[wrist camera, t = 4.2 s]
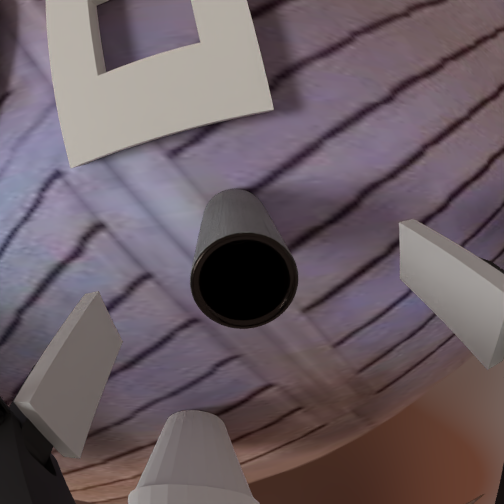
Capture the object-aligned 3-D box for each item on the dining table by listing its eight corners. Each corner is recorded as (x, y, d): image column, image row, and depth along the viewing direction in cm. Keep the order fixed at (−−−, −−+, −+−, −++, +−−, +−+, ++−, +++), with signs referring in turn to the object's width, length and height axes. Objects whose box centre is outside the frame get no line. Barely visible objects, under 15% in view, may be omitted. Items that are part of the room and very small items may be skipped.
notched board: (269, 111, 20) (273, 109, 18) (82, 165, 20) (70, 168, 18) (219, -75, 13) (219, -88, 11) (56, -22, 13) (46, -30, 11)
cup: (258, 446, 33) (273, 540, 20) (166, 456, 33) (160, 545, 20) (235, 384, 28) (247, 510, 16) (124, 398, 28) (98, 508, 15)
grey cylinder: (234, 260, 23) (244, 346, 14) (190, 219, 22) (167, 286, 12) (278, 218, 23) (320, 282, 13) (234, 174, 21) (245, 208, 12)
